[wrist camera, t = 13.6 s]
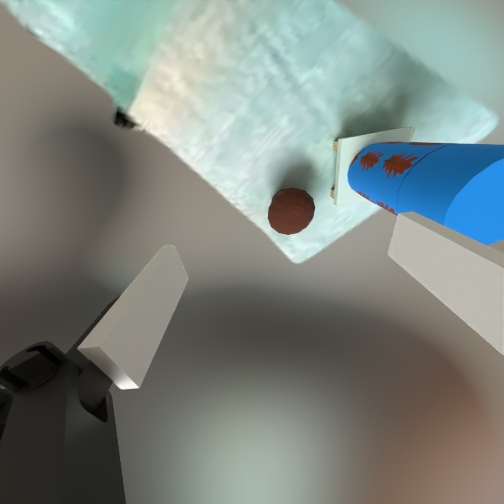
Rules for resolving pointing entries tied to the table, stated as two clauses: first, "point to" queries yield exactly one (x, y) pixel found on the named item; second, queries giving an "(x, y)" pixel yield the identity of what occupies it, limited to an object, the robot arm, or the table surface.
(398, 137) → the footstool
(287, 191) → the muffin
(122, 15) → the table surface
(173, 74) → the table surface
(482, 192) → the thermos
